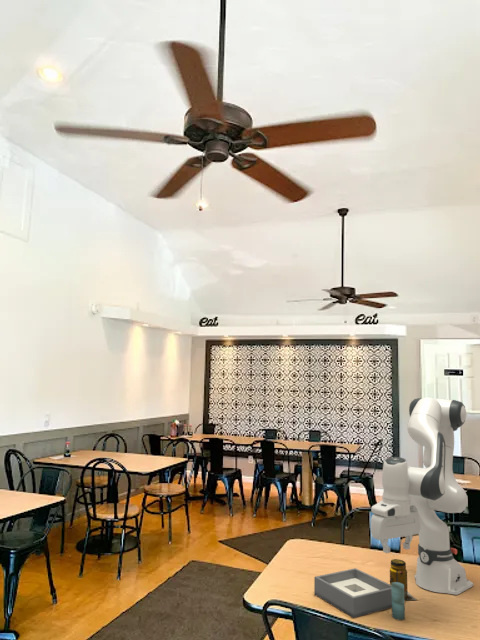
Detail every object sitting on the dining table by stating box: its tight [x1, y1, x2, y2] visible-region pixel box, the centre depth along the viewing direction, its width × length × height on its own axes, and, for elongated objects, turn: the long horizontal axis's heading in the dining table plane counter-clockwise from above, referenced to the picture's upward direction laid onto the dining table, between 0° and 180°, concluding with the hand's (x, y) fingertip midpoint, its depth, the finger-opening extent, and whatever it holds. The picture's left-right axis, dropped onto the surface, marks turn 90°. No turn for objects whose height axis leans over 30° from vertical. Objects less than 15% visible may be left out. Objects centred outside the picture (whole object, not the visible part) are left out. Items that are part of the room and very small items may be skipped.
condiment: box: [389, 558, 418, 602], centre depth 171 cm, size 7×8×12 cm
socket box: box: [313, 567, 392, 619], centre depth 166 cm, size 20×20×6 cm
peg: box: [391, 582, 406, 621], centre depth 154 cm, size 4×4×10 cm
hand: (396, 550), depth 157 cm, fingers open, 8 cm apart
